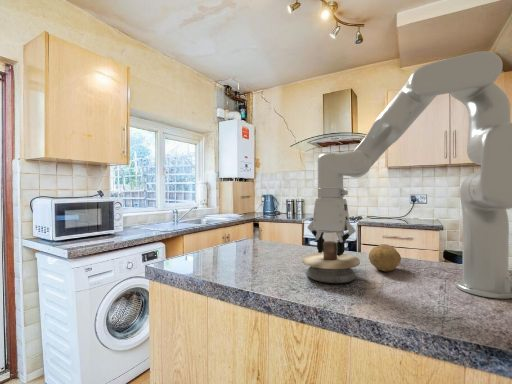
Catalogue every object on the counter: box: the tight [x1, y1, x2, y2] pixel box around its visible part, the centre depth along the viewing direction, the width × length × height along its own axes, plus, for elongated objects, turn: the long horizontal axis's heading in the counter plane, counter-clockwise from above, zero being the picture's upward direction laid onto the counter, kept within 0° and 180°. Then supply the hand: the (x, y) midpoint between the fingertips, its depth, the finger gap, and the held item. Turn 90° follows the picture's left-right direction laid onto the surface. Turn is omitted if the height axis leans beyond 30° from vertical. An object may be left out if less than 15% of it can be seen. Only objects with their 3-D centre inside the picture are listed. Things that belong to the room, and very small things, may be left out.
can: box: [321, 231, 339, 253], centre depth 104 cm, size 6×6×12 cm
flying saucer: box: [305, 266, 357, 284], centre depth 88 cm, size 15×15×6 cm
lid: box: [301, 241, 361, 269], centre depth 88 cm, size 17×17×6 cm
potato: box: [368, 243, 402, 272], centre depth 96 cm, size 10×14×8 cm
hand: (330, 252), depth 88 cm, fingers open, 5 cm apart
